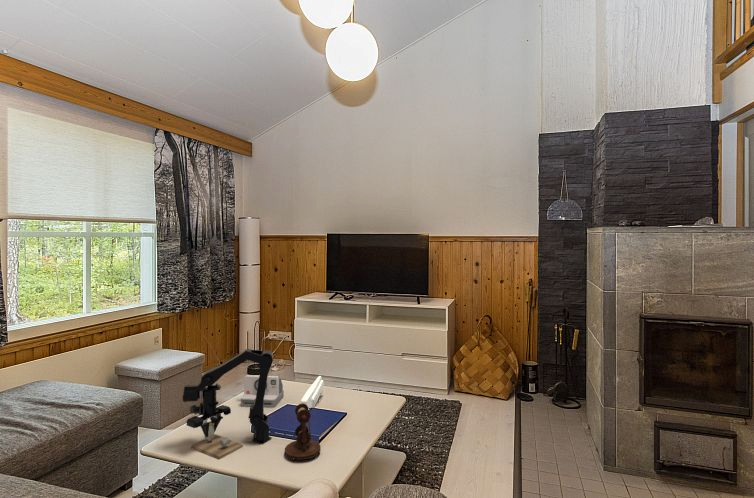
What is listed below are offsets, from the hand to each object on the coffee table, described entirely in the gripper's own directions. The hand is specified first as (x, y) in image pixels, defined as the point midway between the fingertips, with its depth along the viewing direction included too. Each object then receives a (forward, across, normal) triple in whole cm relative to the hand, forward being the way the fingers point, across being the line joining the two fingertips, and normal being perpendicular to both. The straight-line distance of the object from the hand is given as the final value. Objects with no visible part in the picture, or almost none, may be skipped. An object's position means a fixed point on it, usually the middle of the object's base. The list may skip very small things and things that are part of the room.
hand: (209, 435), depth 185 cm
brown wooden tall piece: (+4, -15, +40) cm, 43 cm away
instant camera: (+4, -49, -18) cm, 52 cm away
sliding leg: (+2, 0, 0) cm, 2 cm away
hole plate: (+4, 0, +5) cm, 6 cm away
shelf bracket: (+4, -60, +9) cm, 60 cm away
